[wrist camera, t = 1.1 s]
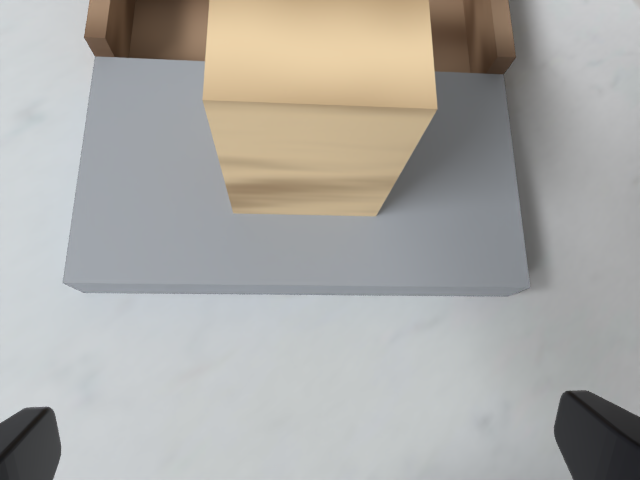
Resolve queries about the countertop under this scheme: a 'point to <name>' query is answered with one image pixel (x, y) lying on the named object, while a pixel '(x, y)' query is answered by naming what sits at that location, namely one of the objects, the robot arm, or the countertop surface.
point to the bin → (192, 21)
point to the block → (317, 100)
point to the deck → (279, 229)
